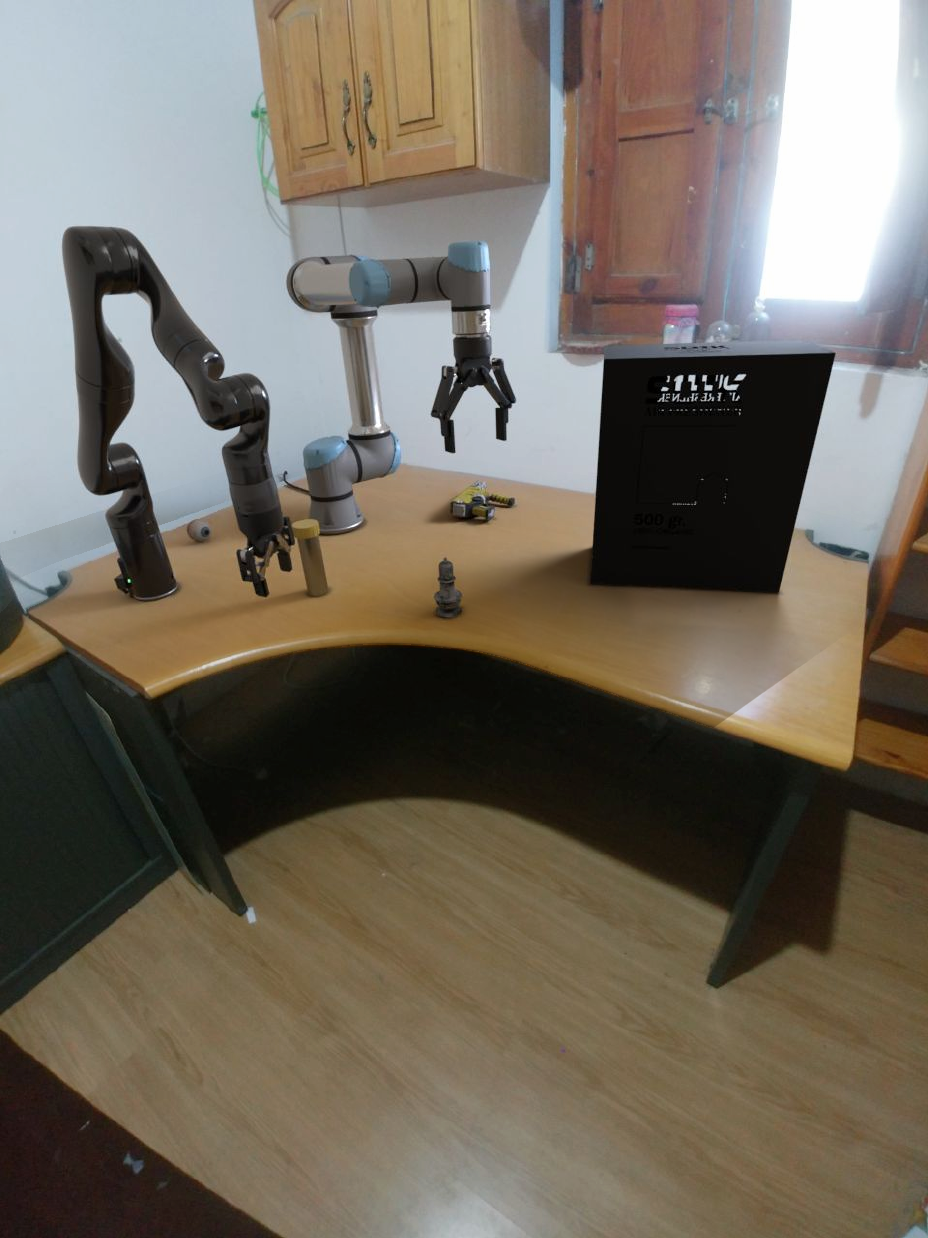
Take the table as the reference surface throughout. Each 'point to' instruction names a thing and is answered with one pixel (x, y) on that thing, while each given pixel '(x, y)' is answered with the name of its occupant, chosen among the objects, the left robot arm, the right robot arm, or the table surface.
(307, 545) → the jar
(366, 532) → the table surface
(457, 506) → the toy gun
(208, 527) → the eyeball
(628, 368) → the cardboard box
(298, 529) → the lid
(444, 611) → the dark grey chess piece
